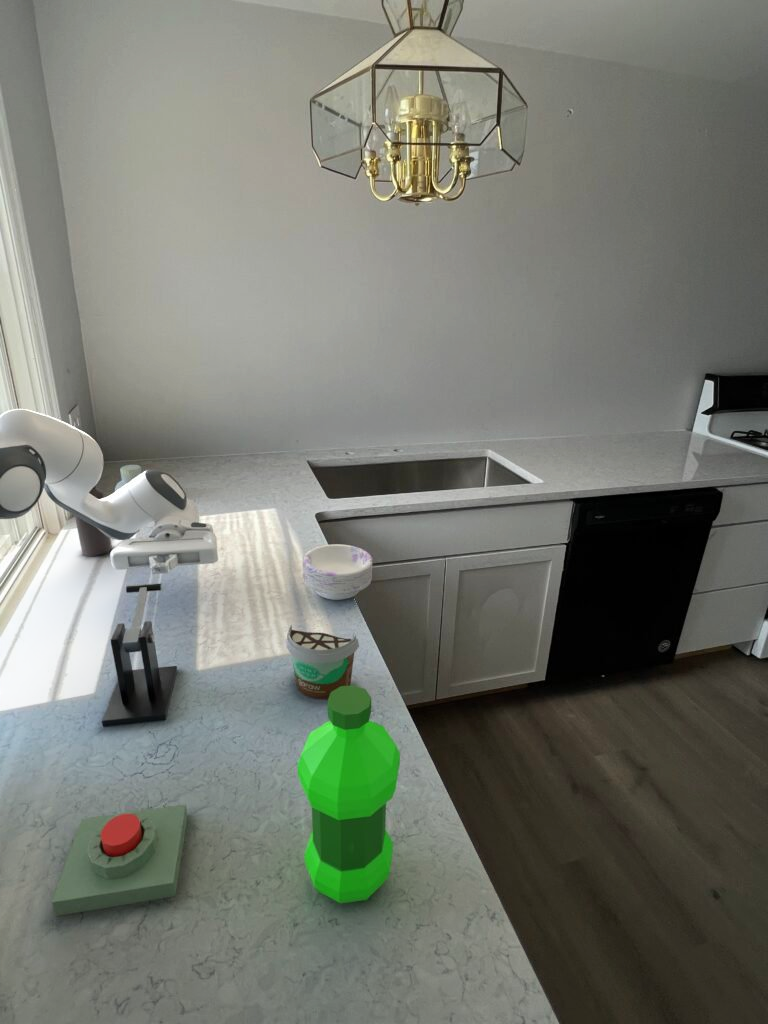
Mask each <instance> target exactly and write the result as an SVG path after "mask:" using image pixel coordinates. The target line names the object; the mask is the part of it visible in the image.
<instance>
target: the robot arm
mask: <svg viewBox="0 0 768 1024" xmlns="http://www.w3.org/2000/svg"><path fill="white" fill-rule="evenodd" d="M104 460H105V459H104V454H103V451H102V449H101V447H100V445H99V443H98V442H97V441H96V440H95V439H94V438H93V437H92V436H90V435H89V434H87V433H86V432H85V431H82V430H80V429H79V428H76V427H75V426H72V425H70V424H69V423H67V422H65V421H62V420H60V419H57V418H55V417H52V416H50V415H47V414H43V413H40V412H37V411H33V410H30V409H26V408H25V409H24V408H15V409H10V410H7V411H5V412H4V413H2V414H1V415H0V520H12V519H18V518H20V517H23V516H25V515H26V514H27V513H29V512H30V511H31V510H33V508H34V507H35V506H36V504H37V503H38V502H39V500H40V498H41V496H42V494H43V491H44V492H45V493H46V495H47V496H48V498H49V499H50V500H51V501H52V502H53V503H55V504H56V505H57V506H58V507H60V508H61V509H63V510H64V511H66V512H68V513H70V514H72V515H73V516H74V517H75V516H77V517H79V518H80V519H82V520H84V521H86V522H88V523H89V524H91V525H93V526H95V527H96V528H97V529H98V530H100V531H101V532H102V533H103V534H104V535H106V536H107V537H109V538H110V539H111V540H117V541H119V542H118V543H117V544H116V545H115V546H114V547H113V548H112V549H111V550H110V554H109V557H110V563H111V566H112V568H113V569H115V570H119V571H120V570H131V569H132V570H133V569H148V568H150V569H151V573H152V575H163V574H169V573H170V572H171V571H170V570H172V569H175V568H176V567H180V566H181V567H182V566H195V565H209V564H211V565H212V564H215V563H216V562H218V561H219V549H218V542H217V541H218V540H217V536H216V534H215V532H214V529H213V525H212V524H211V523H205V522H200V514H199V510H198V508H197V506H196V504H195V502H193V501H192V500H191V499H190V498H188V497H187V494H186V492H185V490H184V489H183V487H182V486H181V484H180V483H179V482H178V481H177V480H176V479H175V478H174V477H173V476H171V474H169V473H167V472H164V471H162V470H158V469H146V470H145V471H142V474H140V475H139V476H137V477H136V478H134V479H133V480H131V481H130V482H129V483H128V484H126V485H125V486H123V487H122V488H120V489H119V490H118V491H116V492H115V491H114V492H113V493H111V494H110V495H108V496H106V497H103V499H97V498H96V497H94V496H93V495H91V494H90V493H89V492H90V491H91V489H92V488H93V487H94V486H96V485H97V484H98V483H99V481H100V480H101V477H102V474H103V470H104ZM152 522H154V525H153V527H152V529H151V532H150V533H149V535H148V537H135V538H132V537H133V536H135V535H136V534H138V533H139V532H140V531H141V530H142V529H143V528H145V527H146V526H148V525H149V524H150V523H152Z"/></svg>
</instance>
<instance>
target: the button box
mask: <svg viewBox="0 0 768 1024" xmlns="http://www.w3.org/2000/svg"><path fill="white" fill-rule="evenodd" d="M122 814H133V815H135V816H137V817H138V819H139V821H140V826H141V831H142V837H141V840H140V842H139V844H138V845H137V846H136V847H135V848H134V849H133V850H132V851H131V852H129V853H127V854H125V855H122V856H118V857H113V856H109V855H107V854H106V853H105V851H104V849H103V845H102V841H101V832H102V830H103V828H104V826H105V825H106V824H107V823H108V822H109V821H110V820H111V819H113V818H114V817H116V816H119V815H122ZM188 818H189V817H188V810H187V804H178V805H172V806H171V805H170V806H165V807H157V808H150V809H144V810H143V809H142V810H133V811H124V812H120V813H114V814H106V815H99V816H91V817H84V818H81V819H80V821H79V824H78V827H77V830H76V833H75V836H74V839H73V841H72V844H71V847H70V850H69V852H68V855H67V859H66V861H65V863H64V867H63V870H62V872H61V876H60V878H59V881H58V884H57V887H56V890H55V893H54V896H53V899H52V901H51V904H52V908H53V911H54V914H55V917H59V916H65V915H71V914H77V913H83V912H88V911H94V910H100V909H107V908H113V907H119V906H125V905H131V904H137V903H143V902H149V901H156V900H160V899H161V900H162V899H166V898H172V897H176V896H177V895H176V894H177V888H178V881H179V876H180V869H181V862H182V856H183V851H184V850H183V849H184V844H185V842H184V841H185V836H186V831H187V824H188Z"/></svg>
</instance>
